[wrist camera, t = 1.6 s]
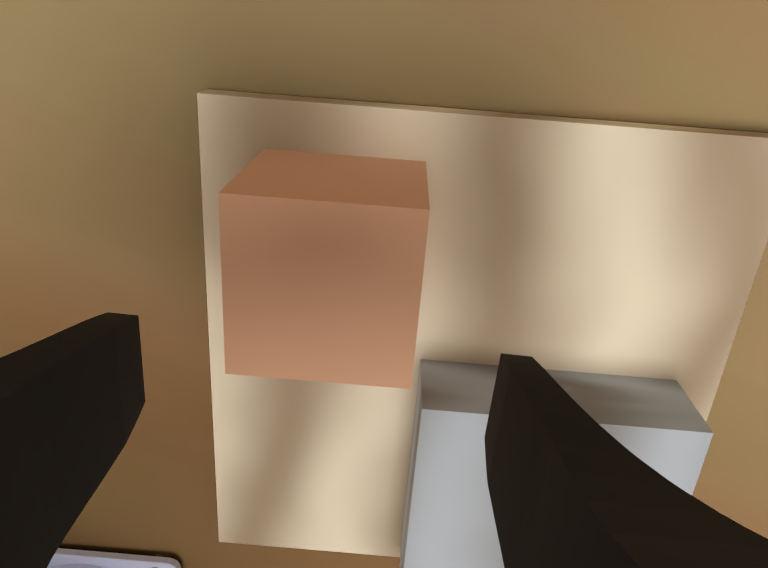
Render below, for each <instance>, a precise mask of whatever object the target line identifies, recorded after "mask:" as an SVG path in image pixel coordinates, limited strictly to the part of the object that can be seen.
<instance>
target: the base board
mask: <svg viewBox="0 0 768 568" xmlns="http://www.w3.org/2000/svg"><path fill="white" fill-rule="evenodd" d="M197 104H198V124H199V145H200V165H201V185H202V206H203V226H204V246H205V267H206V287H207V307H208V328H209V348H210V368H211V389H212V409H213V429H214V450H215V470H216V490H217V511H218V531H219V542H228V543H240V544H251V545H263V546H275V547H287V548H298V549H310V550H322V551H334V552H345V553H357V554H369V555H381V556H392V557H400V568H504V563H503V558H502V553H501V548H500V543H499V539H498V534H497V529H496V524H495V519H494V514H493V509H492V504H491V499H490V494H489V488H488V483H487V471H486V457H485V438H484V437H485V432H486V427H487V421H488V416H489V411H490V406H491V401H492V396H493V391H494V386H495V381H496V376H497V370H498V365H499V360H500V355H501V353H503V354H512V355H522V356H532V357H533V358H534V359H535V360H536V361H537V362H538V363H539V364H540V365H541V366H542V367H543V368H544V369H545V370H546V371H547V372H548V373H549V374H550V376H551V377H552V378H553V379H554V380H555V381H556V382H557V383H558V384H559V385H560V386H561V387H562V388H563V389H564V390H565V391H566V392H567V393H568V394H569V395H570V396H571V397H572V399H573V400H574V401H575V402H576V403H577V404H578V405H579V406H580V407H581V408H582V409H583V410H585V411H586V412H587V413H588V414H589V415H590V416H591V417H592V418H593V419H594V420H595V421H596V422H597V423H598V424H599V425H600V426H601V427H602V428H604V429H605V430H606V431H607V432H608V433H609V434H610V435H612V436H613V437H614V438H615V439H616V440H617V441H618V442H620V443H621V444H622V445H623V446H624V447H625V448H627V449H628V450H629V451H630V452H632V453H633V454H634V455H635V456H637V457H638V458H639V459H640V460H642V461H643V462H644V463H646V464H647V465H649V466H650V467H651V468H653V469H654V470H655V471H657V472H658V473H659V474H661V475H662V476H663V477H665V478H666V479H668V480H669V481H670V482H672V483H673V484H675V485H676V486H678V487H679V488H681V489H682V490H684V491H685V492H687V493H688V494H690V495H692V494H693V491H694V488H695V485H696V482H697V479H698V477H699V474H700V471H701V468H702V465H703V462H704V459H705V456H706V453H707V451H708V448H709V445H710V442H711V439H712V436H713V432H712V430H711V429H710V427H709V426H708V424H707V423H706V421H707V418H708V415H709V412H710V409H711V406H712V403H713V400H714V397H715V394H716V391H717V388H718V385H719V382H720V379H721V376H722V374H723V371H724V368H725V365H726V362H727V359H728V356H729V353H730V350H731V347H732V344H733V341H734V338H735V335H736V332H737V329H738V326H739V323H740V320H741V317H742V314H743V311H744V308H745V305H746V303H747V300H748V297H749V294H750V291H751V288H752V285H753V282H754V279H755V276H756V273H757V270H758V267H759V264H760V261H761V258H762V255H763V252H764V249H765V246H766V243H767V240H768V133H761V132H749V131H736V130H723V129H710V128H697V127H685V126H672V125H659V124H646V123H634V122H621V121H608V120H595V119H582V118H570V117H557V116H544V115H531V114H519V113H506V112H493V111H480V110H467V109H455V108H442V107H429V106H416V105H403V104H391V103H378V102H365V101H352V100H340V99H327V98H314V97H301V96H288V95H276V94H263V93H250V92H237V91H225V90H212V89H206V90H204V91H201V92H199V93H197ZM263 149H275V150H288V151H300V152H313V153H326V154H338V155H351V156H364V157H376V158H389V159H402V160H414V161H426V170H427V182H428V193H429V205H430V214H429V223H428V233H427V242H426V252H425V262H424V271H423V281H422V291H421V300H420V310H419V319H418V329H417V339H416V348H415V358H414V368H413V377H412V387H411V389H403V388H391V387H379V386H367V385H355V384H343V383H330V382H318V381H306V380H294V379H282V378H270V377H258V376H246V375H233V374H225V355H224V329H223V303H222V277H221V251H220V224H219V198H218V193H219V192H220V191H221V190H222V189H223V188H224V187H225V186H226V185H227V184H228V183H229V182H230V181H231V180H232V179H233V178H234V177H235V176H236V175H237V174H238V173H239V172H240V171H241V170H242V169H243V168H244V167H246V166H247V165H248V164H249V163H250V162H251V161H252V160H253V159H254V158H255V157H256V156H257V155H258V154H259V153H260V152H261V151H262V150H263Z"/></svg>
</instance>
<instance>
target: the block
mask: <svg viewBox="0 0 768 568" xmlns="http://www.w3.org/2000/svg"><path fill="white" fill-rule="evenodd" d="M218 198H219V224H220V251H221V277H222V303H223V329H224V355H225V374H233V375H246V376H258V377H270V378H282V379H294V380H306V381H318V382H330V383H343V384H355V385H367V386H379V387H391V388H403V389H411V387H412V377H413V368H414V358H415V348H416V339H417V329H418V319H419V310H420V300H421V291H422V281H423V271H424V262H425V252H426V242H427V233H428V223H429V214H430V205H429V193H428V182H427V170H426V161H414V160H402V159H389V158H376V157H364V156H351V155H338V154H326V153H313V152H300V151H288V150H275V149H263V150H262V151H261V152H260V153H259V154H258V155H257V156H256V157H255V158H254V159H253V160H252V161H251V162H250V163H249V164H248V165H247V166H246V167H244V168H243V169H242V170H241V171H240V172H239V173H238V174H237V175H236V176H235V177H234V178H233V179H232V180H231V181H230V182H229V183H228V184H227V185H226V186H225V187H224V188H223V189H222V190H221V191H220V192H219V193H218Z"/></svg>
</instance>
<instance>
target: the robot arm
mask: <svg viewBox="0 0 768 568" xmlns="http://www.w3.org/2000/svg"><path fill="white" fill-rule="evenodd" d="M144 403H145V393H144V380H143V368H142V356H141V343H140V331H139V318H138V316H137V315H127V314H118V313H105V314H102V315H99V316H96V317H93V318H91V319H88V320H86V321H83V322H81V323H79V324H76V325H74V326H72V327H70V328H67V329H65V330H63V331H61V332H58V333H56V334H54V335H52V336H50V337H47V338H45V339H43V340H41V341H38V342H36V343H34V344H32V345H29V346H27V347H25V348H23V349H20V350H18V351H16V352H13V353H11V354H9V355H6V356H4V357H1V358H0V568H156V567H157V568H181V566H180V563H179V562H178V561H177V560H175V559H173V558H169V557H158V556H146V555H134V554H123V553H111V552H99V551H87V550H76V549H64V548H58V547H59V546H60V544H61V542H62V541H63V539H64V537H65V536H66V534H67V533H68V531H69V530H70V528H71V527H72V525H73V524H74V522H75V521H76V519H77V518H78V516H79V515H80V513H81V511H82V510H83V508H84V507H85V505H86V504H87V502H88V501H89V499H90V498H91V496H92V495H93V493H94V492H95V490H96V489H97V487H98V486H99V484H100V483H101V481H102V480H103V478H104V477H105V475H106V474H107V472H108V471H109V469H110V468H111V466H112V464H113V463H114V461H115V460H116V458H117V457H118V455H119V454H120V452H121V450H122V449H123V447H124V446H125V444H126V442H127V440H128V438H129V436H130V434H131V432H132V430H133V428H134V426H135V424H136V421H137V419H138V417H139V415H140V412H141V410H142V408H143V406H144ZM484 438H485V457H486V471H487V483H488V488H489V494H490V499H491V504H492V509H493V514H494V519H495V524H496V529H497V534H498V539H499V543H500V548H501V553H502V558H503V563H504V568H768V539H767V538H765V537H763V536H761V535H759V534H757V533H755V532H753V531H751V530H749V529H747V528H745V527H744V526H742V525H740V524H738V523H737V522H735V521H733V520H731V519H729V518H728V517H726V516H724V515H722V514H721V513H719V512H717V511H716V510H714V509H712V508H711V507H709V506H708V505H706V504H704V503H703V502H701V501H700V500H698V499H696V498H695V497H693V496H692V495H690V494H688V493H687V492H685V491H684V490H682V489H681V488H679V487H678V486H676V485H675V484H673V483H672V482H670V481H669V480H668V479H666V478H665V477H663V476H662V475H661V474H659V473H658V472H657V471H655V470H654V469H653V468H651V467H650V466H649V465H647V464H646V463H644V462H643V461H642V460H640V459H639V458H638V457H637V456H635V455H634V454H633V453H632V452H630V451H629V450H628V449H627V448H625V447H624V446H623V445H622V444H621V443H620V442H618V441H617V440H616V439H615V438H614V437H613V436H612V435H610V434H609V433H608V432H607V431H606V430H605V429H604V428H602V427H601V426H600V425H599V424H598V423H597V422H596V421H595V420H594V419H593V418H592V417H591V416H590V415H589V414H588V413H587V412H586V411H585V410H583V409H582V408H581V407H580V406H579V405H578V404H577V403H576V402H575V401H574V400H573V399H572V397H571V396H570V395H569V394H568V393H567V392H566V391H565V390H564V389H563V388H562V387H561V386H560V385H559V384H558V383H557V382H556V381H555V380H554V379H553V378H552V377H551V376H550V374H549V373H548V372H547V371H546V370H545V369H544V368H543V367H542V366H541V365H540V364H539V363H538V362H537V361H536V360H535V359H534V358H533V357H532V356H522V355H512V354H503V353H501V355H500V360H499V365H498V370H497V376H496V381H495V386H494V391H493V396H492V401H491V406H490V411H489V416H488V421H487V427H486V432H485V437H484Z"/></svg>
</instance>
